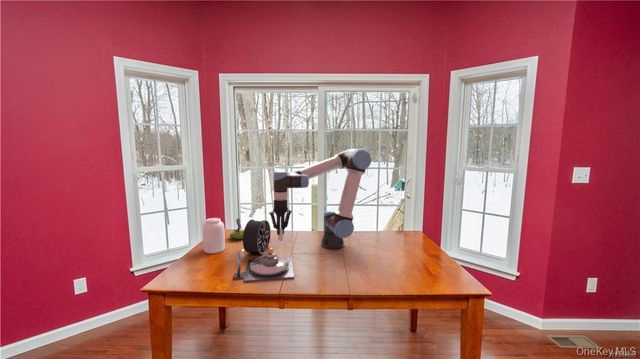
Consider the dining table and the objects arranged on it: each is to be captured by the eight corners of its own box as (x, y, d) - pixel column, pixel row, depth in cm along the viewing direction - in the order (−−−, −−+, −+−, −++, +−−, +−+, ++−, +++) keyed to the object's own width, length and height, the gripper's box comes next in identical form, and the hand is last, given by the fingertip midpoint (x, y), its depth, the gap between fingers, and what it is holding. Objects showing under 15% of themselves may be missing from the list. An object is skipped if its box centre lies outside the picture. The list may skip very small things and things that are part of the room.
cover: (278, 259, 146) (278, 250, 145) (278, 265, 138) (278, 256, 137) (263, 260, 145) (263, 251, 144) (262, 266, 137) (262, 257, 136)
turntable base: (291, 258, 155) (291, 256, 155) (294, 278, 132) (293, 276, 132) (248, 261, 152) (248, 259, 151) (243, 282, 128) (243, 279, 128)
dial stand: (245, 273, 136) (244, 248, 135) (243, 278, 131) (242, 252, 130) (234, 274, 136) (233, 248, 134) (233, 279, 131) (232, 252, 129)
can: (207, 255, 159) (206, 223, 156) (200, 249, 168) (199, 218, 166) (228, 250, 167) (227, 219, 165) (220, 244, 176) (219, 215, 174)
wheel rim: (257, 259, 154) (257, 225, 152) (243, 257, 156) (242, 224, 154) (270, 246, 174) (270, 216, 171) (257, 245, 176) (257, 215, 173)
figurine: (231, 235, 195) (231, 215, 193) (249, 234, 197) (248, 214, 195) (227, 242, 182) (226, 220, 180) (246, 241, 183) (245, 220, 181)
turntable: (288, 257, 153) (288, 246, 152) (289, 274, 133) (289, 261, 132) (252, 260, 150) (251, 248, 149) (248, 277, 130) (248, 263, 129)
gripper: (288, 196, 155) (288, 236, 158) (266, 198, 148) (267, 239, 151) (294, 199, 149) (293, 240, 152) (271, 201, 142) (272, 244, 145)
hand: (280, 240), depth 151 cm, fingers closed
